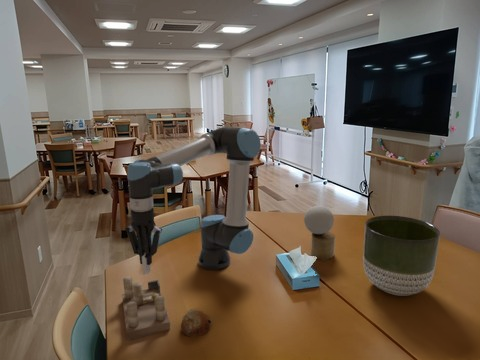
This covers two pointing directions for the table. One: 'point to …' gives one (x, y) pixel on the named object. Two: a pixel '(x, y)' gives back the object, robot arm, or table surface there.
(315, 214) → the lamp
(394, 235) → the planter
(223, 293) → the table surface
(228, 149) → the robot arm
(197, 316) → the bread roll
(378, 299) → the table surface
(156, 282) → the peg board
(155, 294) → the hinged leg
